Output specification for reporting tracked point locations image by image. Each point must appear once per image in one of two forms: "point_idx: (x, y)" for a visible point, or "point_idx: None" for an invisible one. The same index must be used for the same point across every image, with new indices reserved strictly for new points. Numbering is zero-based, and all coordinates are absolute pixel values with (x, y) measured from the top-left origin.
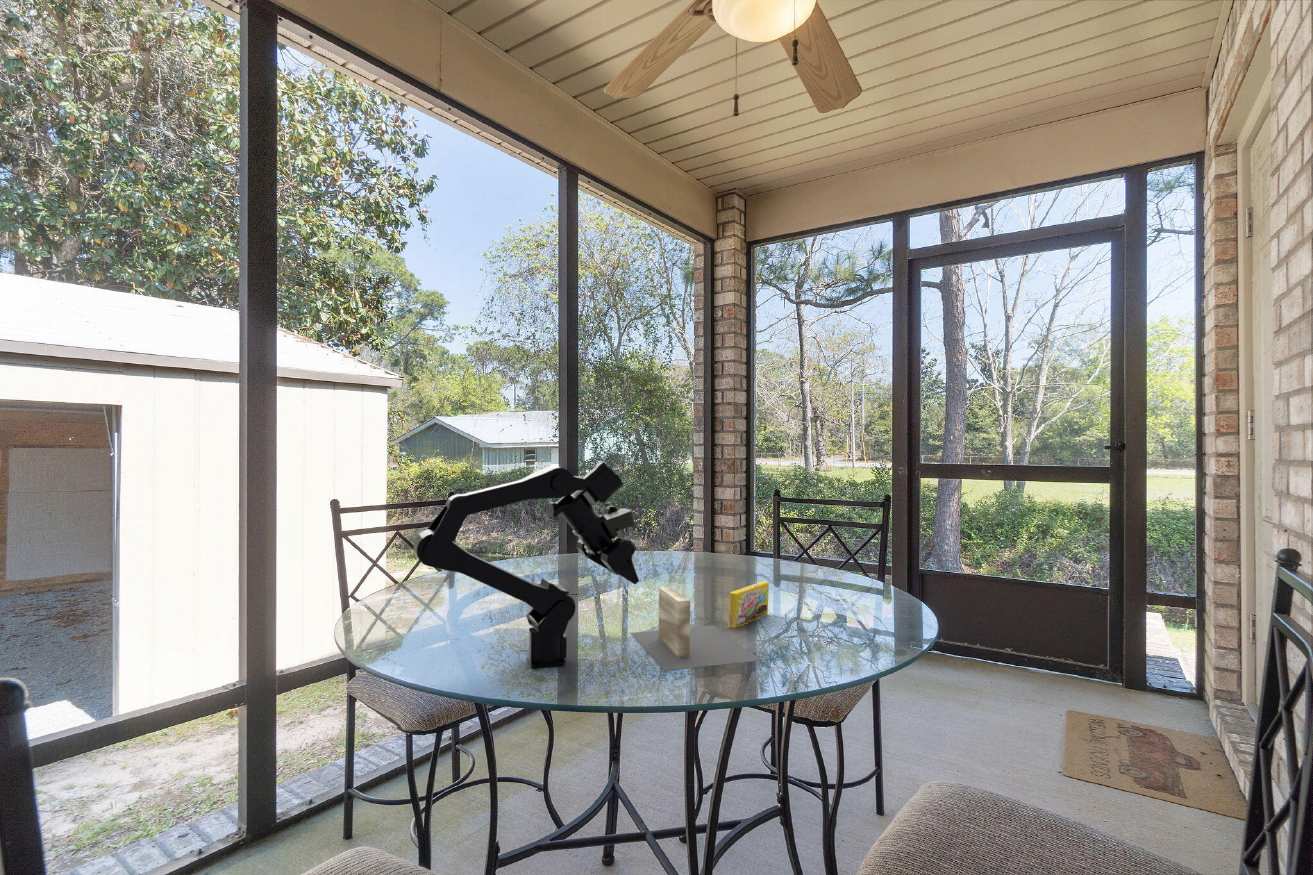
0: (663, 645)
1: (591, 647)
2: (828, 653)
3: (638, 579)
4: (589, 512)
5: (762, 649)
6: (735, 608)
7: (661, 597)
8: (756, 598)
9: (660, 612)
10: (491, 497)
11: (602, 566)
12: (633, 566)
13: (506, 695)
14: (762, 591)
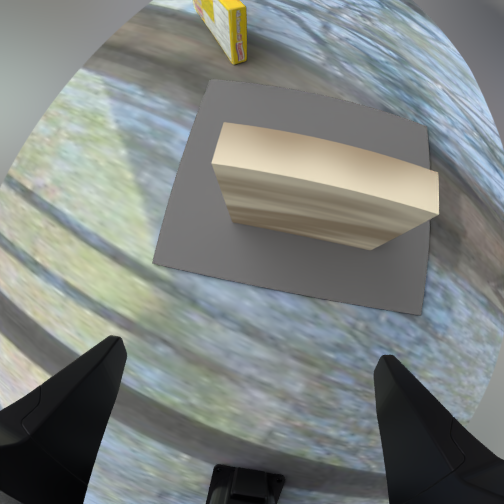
0: (282, 236)
1: (200, 392)
2: (408, 45)
3: (397, 359)
4: None
5: (371, 87)
6: (245, 30)
7: (247, 182)
8: None
9: (241, 201)
10: None
11: (96, 450)
12: (458, 424)
13: None
14: None
